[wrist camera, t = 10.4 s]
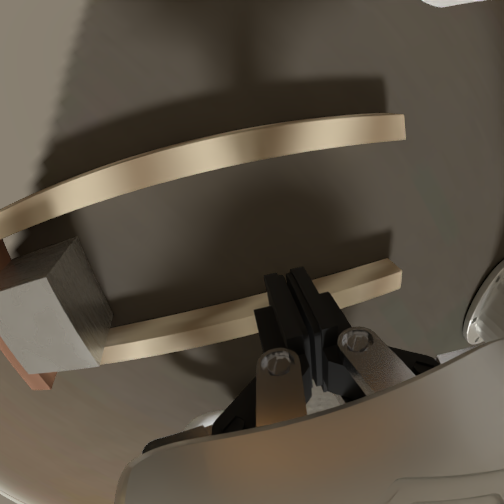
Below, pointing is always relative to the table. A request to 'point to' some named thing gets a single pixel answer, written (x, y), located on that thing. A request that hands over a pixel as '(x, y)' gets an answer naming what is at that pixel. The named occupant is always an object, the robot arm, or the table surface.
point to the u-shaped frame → (189, 163)
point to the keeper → (53, 310)
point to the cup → (447, 2)
